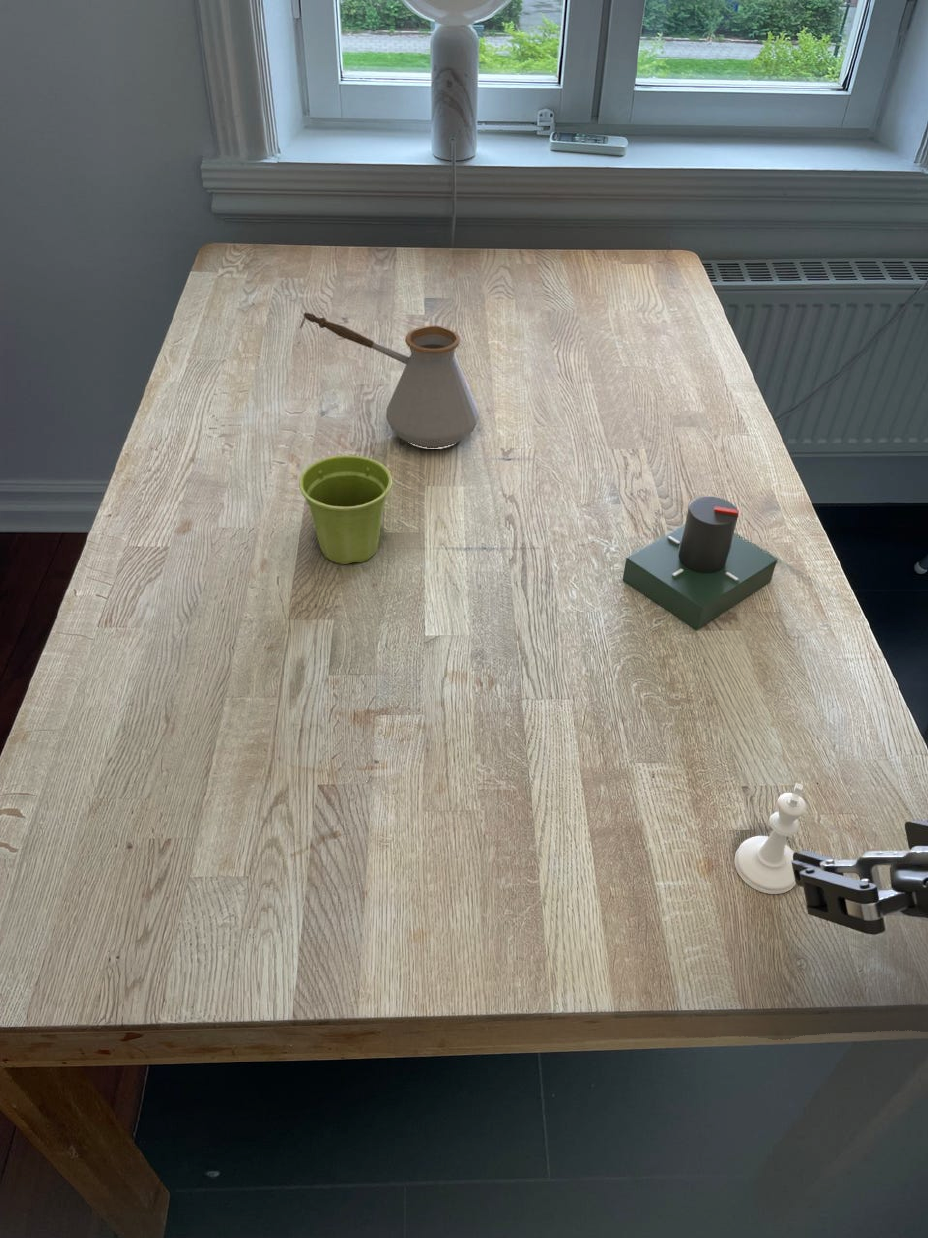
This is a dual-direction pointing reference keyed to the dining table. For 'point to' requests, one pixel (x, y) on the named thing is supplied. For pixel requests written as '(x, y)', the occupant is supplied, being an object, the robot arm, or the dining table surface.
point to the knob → (708, 534)
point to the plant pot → (346, 505)
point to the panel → (697, 578)
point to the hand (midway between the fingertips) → (855, 851)
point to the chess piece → (772, 849)
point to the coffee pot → (424, 386)
